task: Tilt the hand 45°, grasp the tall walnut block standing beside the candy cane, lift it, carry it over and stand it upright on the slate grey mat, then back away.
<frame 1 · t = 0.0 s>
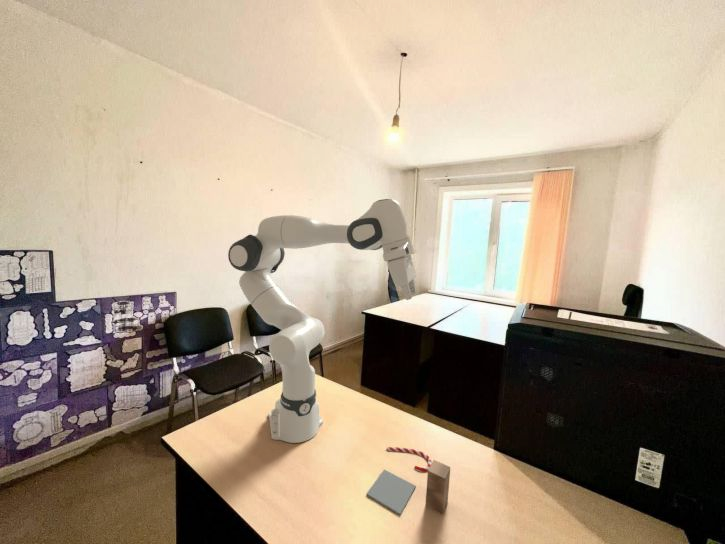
hand: (411, 296, 86), 52 cm above the table, tool tilted 20°, fingers open, 8 cm apart
slate mat: (391, 491, 79), on the table
walnut block: (436, 503, 76), on the table
candy cane: (408, 459, 91), on the table
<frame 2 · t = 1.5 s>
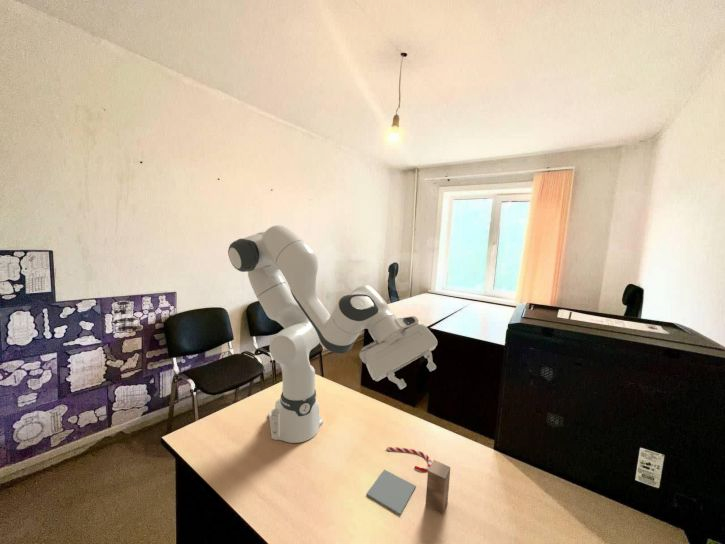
hand: (419, 378, 72), 34 cm above the table, tool tilted 55°, fingers open, 8 cm apart
nothing on the table moved.
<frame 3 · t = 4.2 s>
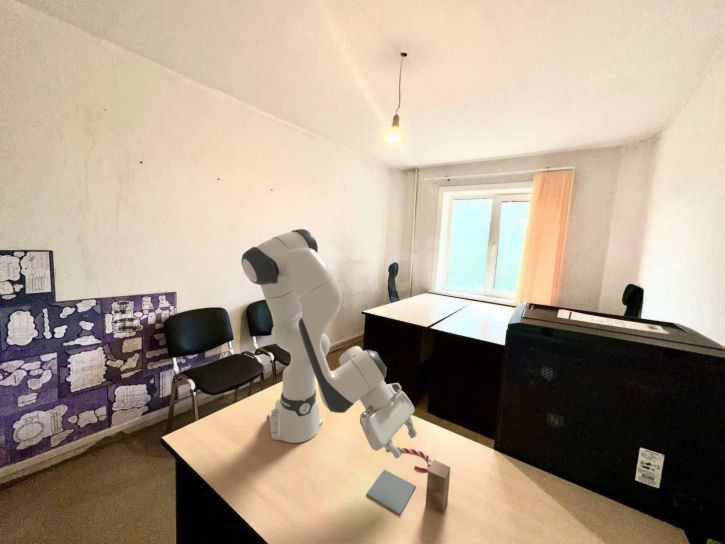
hand: (407, 445, 78), 13 cm above the table, tool tilted 45°, fingers open, 8 cm apart
nothing on the table moved.
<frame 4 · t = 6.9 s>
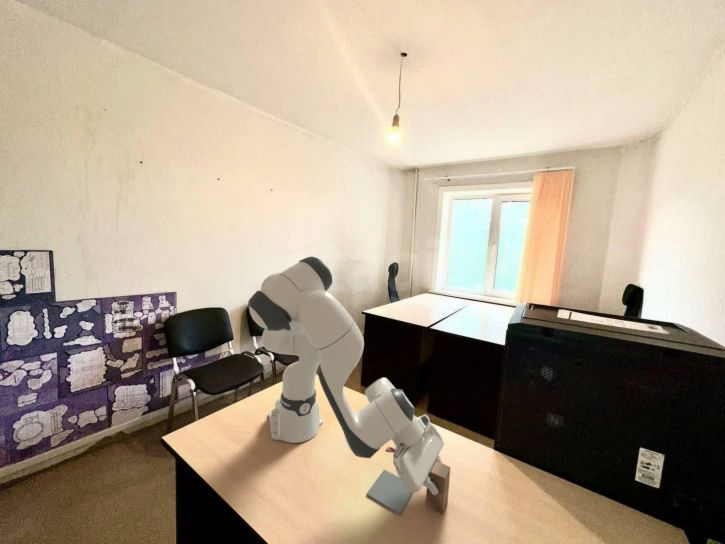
hand: (440, 484, 75), 6 cm above the table, tool tilted 45°, fingers closed on walnut block, 4 cm apart
walnut block: (436, 503, 76), on the table, touching gripper
everything else where it was.
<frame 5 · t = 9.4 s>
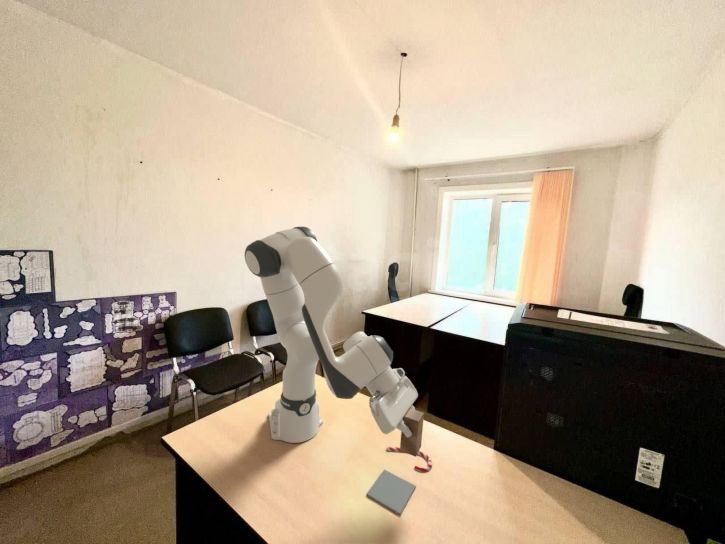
hand: (414, 429, 78), 18 cm above the table, tool tilted 45°, fingers closed on walnut block, 4 cm apart
walnut block: (410, 448, 79), point 12 cm above the table, touching gripper
everything else where it was.
when the fingers open (8 cm above the table, at t = 12.1 s): walnut block drops 1 cm, resting on slate mat.
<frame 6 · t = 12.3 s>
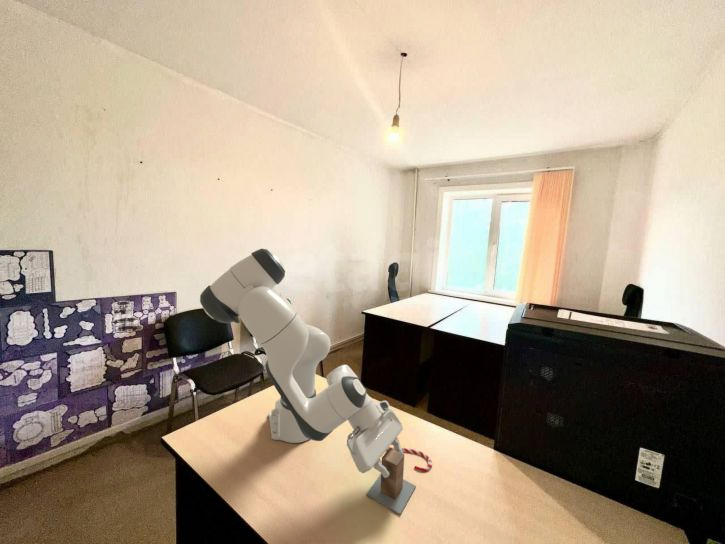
hand: (394, 465, 78), 8 cm above the table, tool tilted 45°, fingers open, 6 cm apart
walnut block: (391, 489, 79), point 1 cm above the table, touching slate mat
everything else where it was.
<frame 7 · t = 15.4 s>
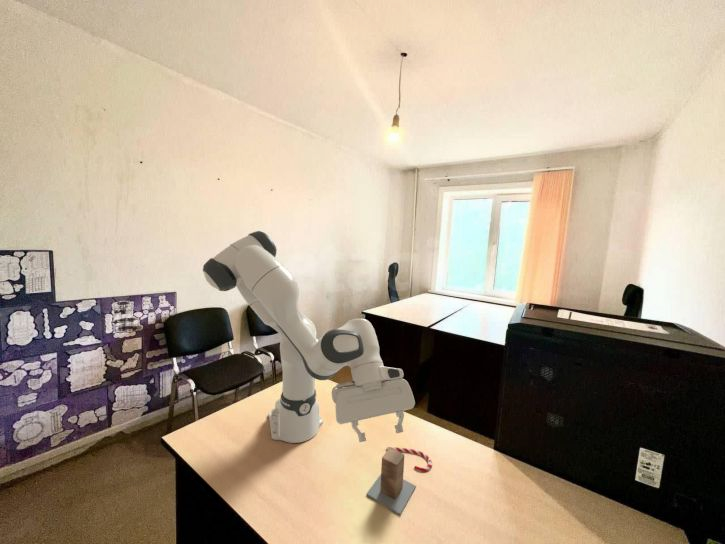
hand: (381, 437, 69), 21 cm above the table, tool tilted 40°, fingers open, 8 cm apart
nothing on the table moved.
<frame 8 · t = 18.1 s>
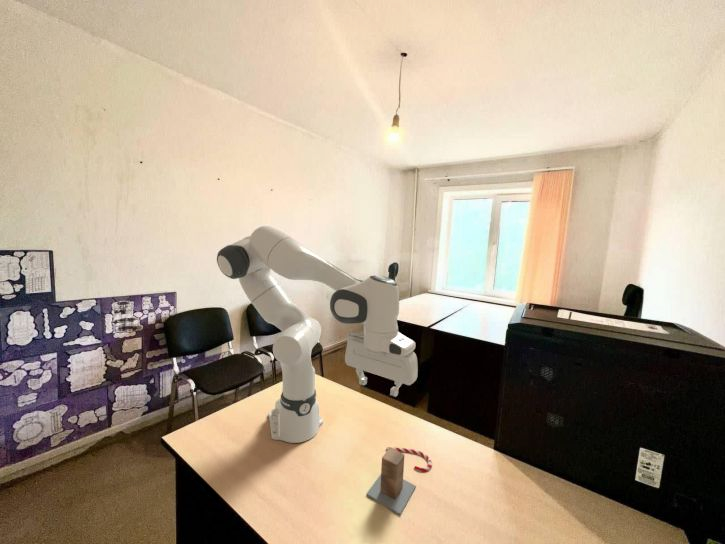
hand: (378, 389, 76), 29 cm above the table, tool pointing down, fingers open, 8 cm apart
nothing on the table moved.
at the end: walnut block inside the target area on the slate mat (0.0 cm from its centre), point 0.5 cm above the slate mat's base; walnut block tilted 0°; the gripper is holding nothing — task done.
